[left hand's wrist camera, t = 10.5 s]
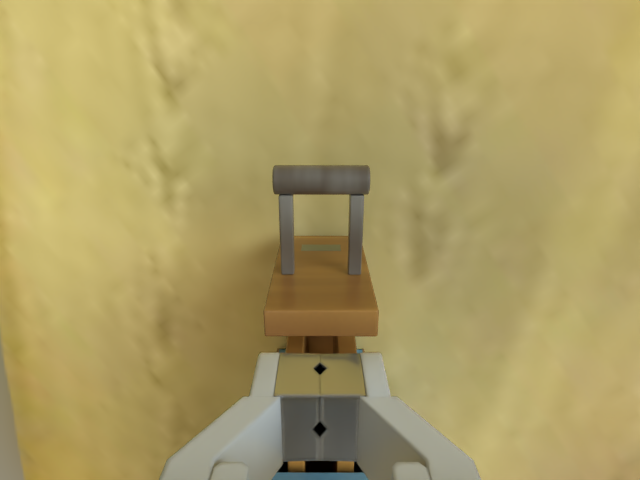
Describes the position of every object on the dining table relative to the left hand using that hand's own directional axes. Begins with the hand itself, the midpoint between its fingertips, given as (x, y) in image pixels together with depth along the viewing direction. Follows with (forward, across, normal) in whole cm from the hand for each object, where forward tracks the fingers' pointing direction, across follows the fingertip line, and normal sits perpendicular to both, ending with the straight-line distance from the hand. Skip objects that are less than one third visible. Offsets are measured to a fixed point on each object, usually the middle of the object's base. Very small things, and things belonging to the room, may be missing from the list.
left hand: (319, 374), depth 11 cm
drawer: (+14, 0, -8) cm, 16 cm away
